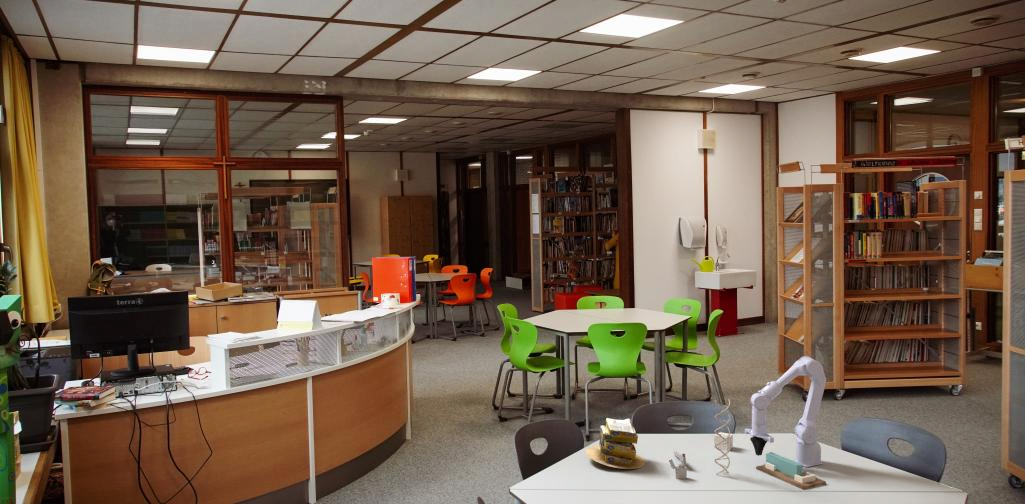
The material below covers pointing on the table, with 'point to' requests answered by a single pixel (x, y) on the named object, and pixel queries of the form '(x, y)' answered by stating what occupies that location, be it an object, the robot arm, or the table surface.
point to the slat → (784, 464)
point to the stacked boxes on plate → (617, 445)
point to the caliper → (681, 457)
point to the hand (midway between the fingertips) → (758, 454)
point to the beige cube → (724, 446)
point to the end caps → (798, 478)
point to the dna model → (723, 437)
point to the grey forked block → (679, 470)
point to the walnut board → (791, 478)
